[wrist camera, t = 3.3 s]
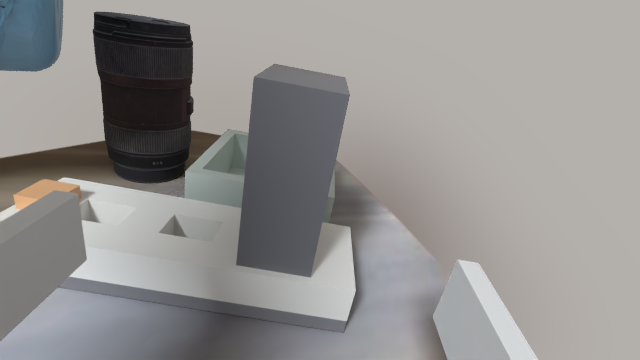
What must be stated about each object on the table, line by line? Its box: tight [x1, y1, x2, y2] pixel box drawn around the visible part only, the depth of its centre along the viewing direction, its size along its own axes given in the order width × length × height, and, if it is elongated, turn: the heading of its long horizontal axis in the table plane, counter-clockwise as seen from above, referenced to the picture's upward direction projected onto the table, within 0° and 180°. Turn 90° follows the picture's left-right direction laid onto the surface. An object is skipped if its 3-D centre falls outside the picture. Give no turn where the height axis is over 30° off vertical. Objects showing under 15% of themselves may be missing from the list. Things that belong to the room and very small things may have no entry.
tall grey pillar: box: [236, 64, 350, 278], centre depth 21 cm, size 4×6×13 cm
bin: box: [185, 129, 335, 223], centre depth 33 cm, size 12×12×5 cm
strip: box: [0, 177, 356, 333], centre depth 23 cm, size 22×7×4 cm, turn 87°
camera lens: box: [93, 12, 193, 183], centre depth 33 cm, size 8×8×15 cm
